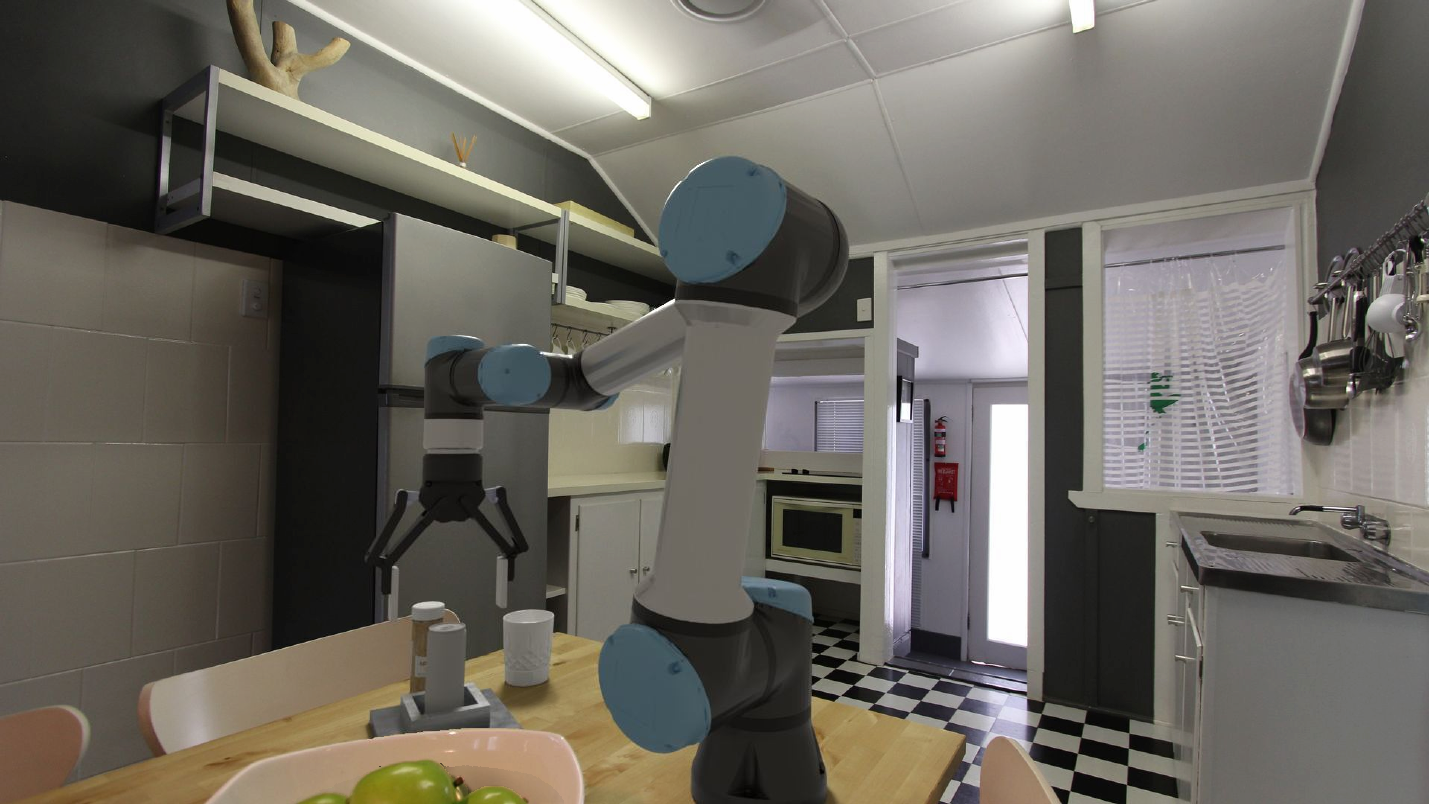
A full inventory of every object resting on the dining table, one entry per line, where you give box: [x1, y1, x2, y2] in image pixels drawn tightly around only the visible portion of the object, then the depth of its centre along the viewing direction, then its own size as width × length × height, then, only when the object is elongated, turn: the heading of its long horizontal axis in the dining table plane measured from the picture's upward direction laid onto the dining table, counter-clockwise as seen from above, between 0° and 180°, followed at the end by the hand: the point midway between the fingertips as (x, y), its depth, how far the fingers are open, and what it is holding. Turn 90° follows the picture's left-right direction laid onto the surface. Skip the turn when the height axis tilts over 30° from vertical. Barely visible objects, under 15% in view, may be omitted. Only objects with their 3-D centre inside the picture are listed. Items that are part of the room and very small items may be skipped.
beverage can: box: [424, 621, 467, 714], centre depth 89 cm, size 5×5×12 cm
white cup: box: [502, 609, 555, 687], centre depth 107 cm, size 8×8×10 cm
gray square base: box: [369, 681, 524, 738], centre depth 88 cm, size 16×16×4 cm
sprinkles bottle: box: [408, 601, 446, 694], centre depth 100 cm, size 5×5×13 cm
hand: (449, 612), depth 89 cm, fingers open, 13 cm apart
